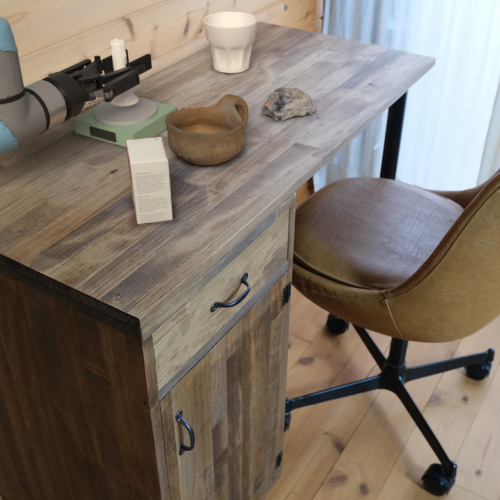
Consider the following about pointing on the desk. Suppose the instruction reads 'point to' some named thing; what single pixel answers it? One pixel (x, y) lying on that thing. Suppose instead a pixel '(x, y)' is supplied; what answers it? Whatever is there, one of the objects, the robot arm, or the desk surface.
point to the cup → (231, 39)
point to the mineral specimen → (288, 104)
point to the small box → (149, 180)
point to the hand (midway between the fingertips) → (138, 58)
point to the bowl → (208, 131)
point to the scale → (123, 121)
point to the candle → (119, 63)
